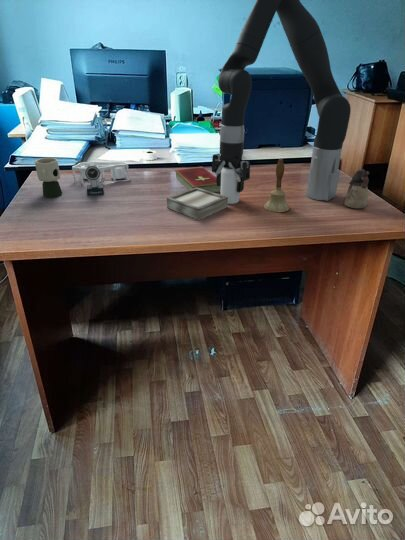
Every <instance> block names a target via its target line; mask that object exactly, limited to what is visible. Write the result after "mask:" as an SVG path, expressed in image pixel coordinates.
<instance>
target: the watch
mask: <svg viewBox="0 0 405 540" xmlns="http://www.w3.org/2000/svg"><path fill="white" fill-rule="evenodd" d="M85 175H86V177H87V179H86V180H87V182H88V183H89V184H87V185H86V192H87V196H98V195H99V196H100V195H104V194H105V192H104V191H105V190H104V183H100V182H99V177H100V175H102V171H99V169H98V167H97V165H95V163H91V164H88V166H87V168H86V171H85ZM98 182H99V184H98Z"/></svg>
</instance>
